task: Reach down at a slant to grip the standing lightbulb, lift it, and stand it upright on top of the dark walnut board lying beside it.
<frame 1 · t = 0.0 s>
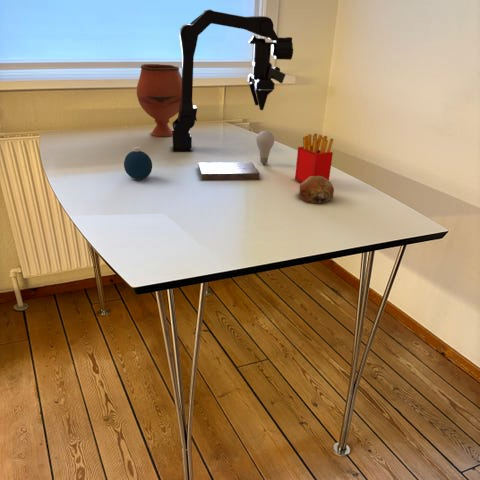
hand: (259, 107, 178), 15 cm above the table, tool pointing down, fingers open, 9 cm apart
lightbulb: (263, 164, 169), on the table
french fries container: (311, 183, 154), on the table
bread roll: (315, 199, 142), on the table
christmas ornament: (139, 179, 150), on the table
goblet: (163, 134, 200), on the table
walnut board: (227, 174, 158), on the table
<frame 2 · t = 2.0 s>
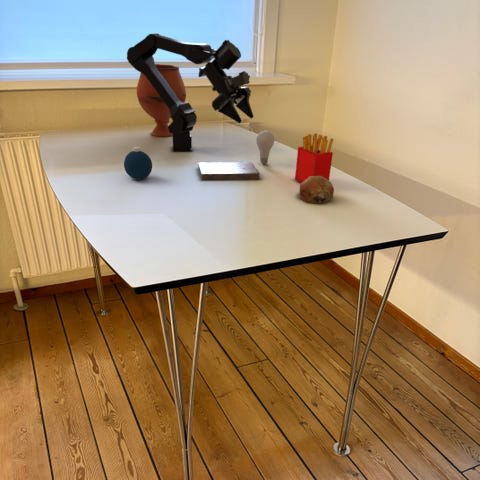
hand: (246, 119, 165), 13 cm above the table, tool tilted 45°, fingers open, 9 cm apart
nothing on the table moved.
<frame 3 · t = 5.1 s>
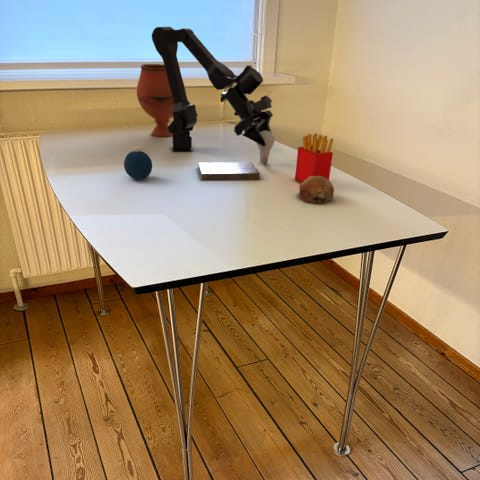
hand: (268, 143, 165), 7 cm above the table, tool tilted 45°, fingers closed on lightbulb, 6 cm apart
lightbulb: (263, 164, 169), on the table, touching gripper
everything else where it was.
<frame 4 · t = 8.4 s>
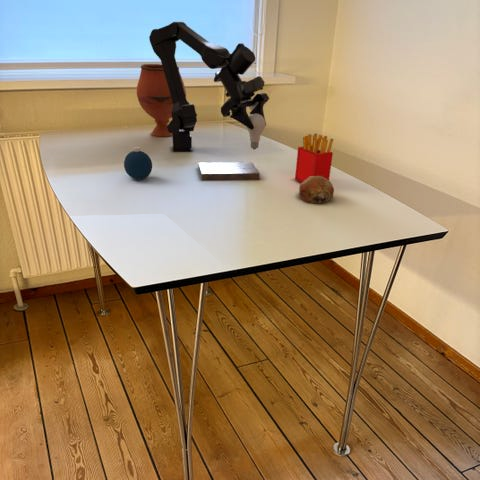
hand: (258, 127, 156), 13 cm above the table, tool tilted 45°, fingers closed on lightbulb, 6 cm apart
lightbulb: (254, 150, 161), point 6 cm above the table, touching gripper
everything else where it was.
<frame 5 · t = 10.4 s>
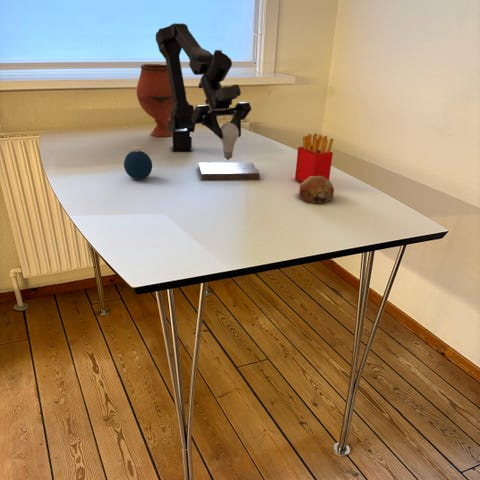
hand: (230, 137, 151), 12 cm above the table, tool tilted 45°, fingers closed on lightbulb, 6 cm apart
lightbulb: (228, 160, 156), point 4 cm above the table, touching gripper
everything else where it was.
when the fingers open (9 cm above the table, at t = 11.7 s): lightbulb stays where it is, resting on walnut board.
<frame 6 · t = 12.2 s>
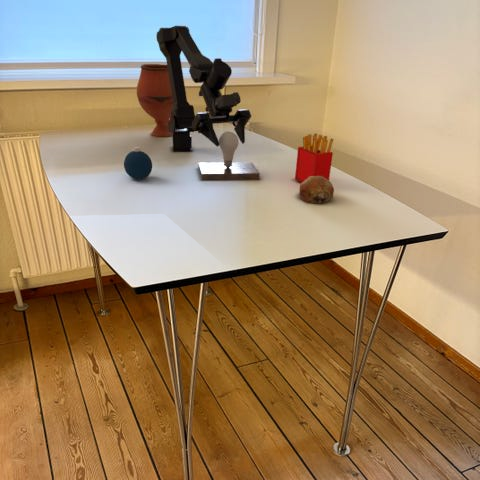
hand: (231, 144, 152), 10 cm above the table, tool tilted 45°, fingers open, 9 cm apart
lightbulb: (227, 168, 157), point 2 cm above the table, touching walnut board
walnut board: (228, 174, 158), on the table, touching lightbulb
everything else where it was.
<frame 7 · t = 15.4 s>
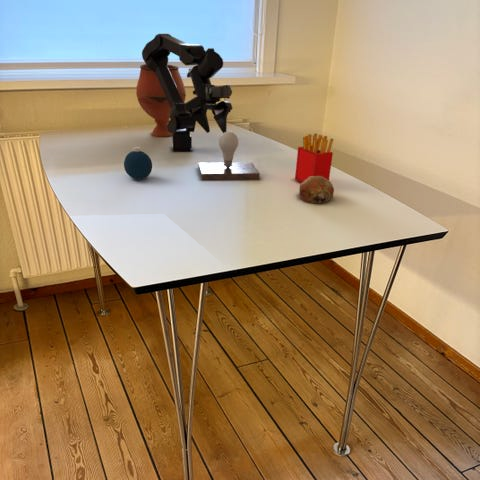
hand: (216, 132, 161), 10 cm above the table, tool tilted 30°, fingers open, 9 cm apart
nothing on the table moved.
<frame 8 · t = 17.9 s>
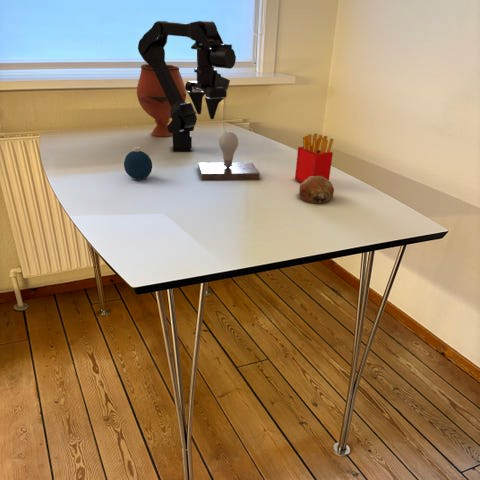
hand: (205, 116, 169), 13 cm above the table, tool pointing down, fingers open, 9 cm apart
nothing on the table moved.
at the end: lightbulb inside the target area on the walnut board (0.2 cm from its centre), point 1.8 cm above the walnut board's base; lightbulb tilted 0°; the gripper is holding nothing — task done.
